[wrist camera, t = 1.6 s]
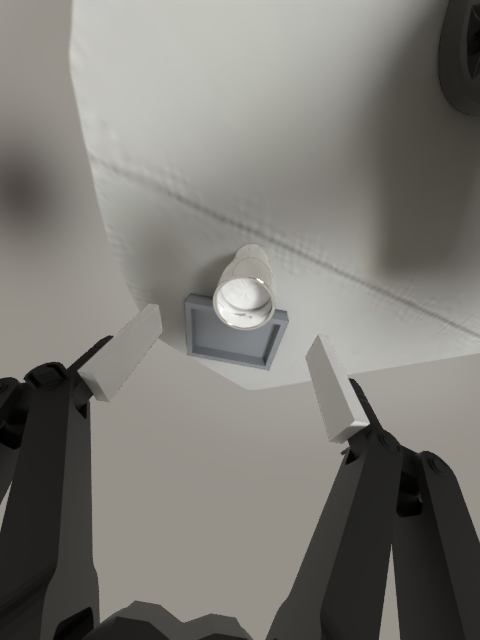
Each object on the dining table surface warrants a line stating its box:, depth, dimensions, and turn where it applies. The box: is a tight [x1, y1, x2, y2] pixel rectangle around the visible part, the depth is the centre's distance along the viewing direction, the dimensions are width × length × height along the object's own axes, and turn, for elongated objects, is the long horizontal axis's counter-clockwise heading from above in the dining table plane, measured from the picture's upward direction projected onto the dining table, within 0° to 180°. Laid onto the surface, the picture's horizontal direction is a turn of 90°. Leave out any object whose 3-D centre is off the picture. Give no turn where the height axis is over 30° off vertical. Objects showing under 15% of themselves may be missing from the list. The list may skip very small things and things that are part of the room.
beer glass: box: [213, 244, 276, 330], centre depth 24 cm, size 7×7×15 cm
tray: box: [185, 294, 289, 370], centre depth 38 cm, size 20×15×4 cm
